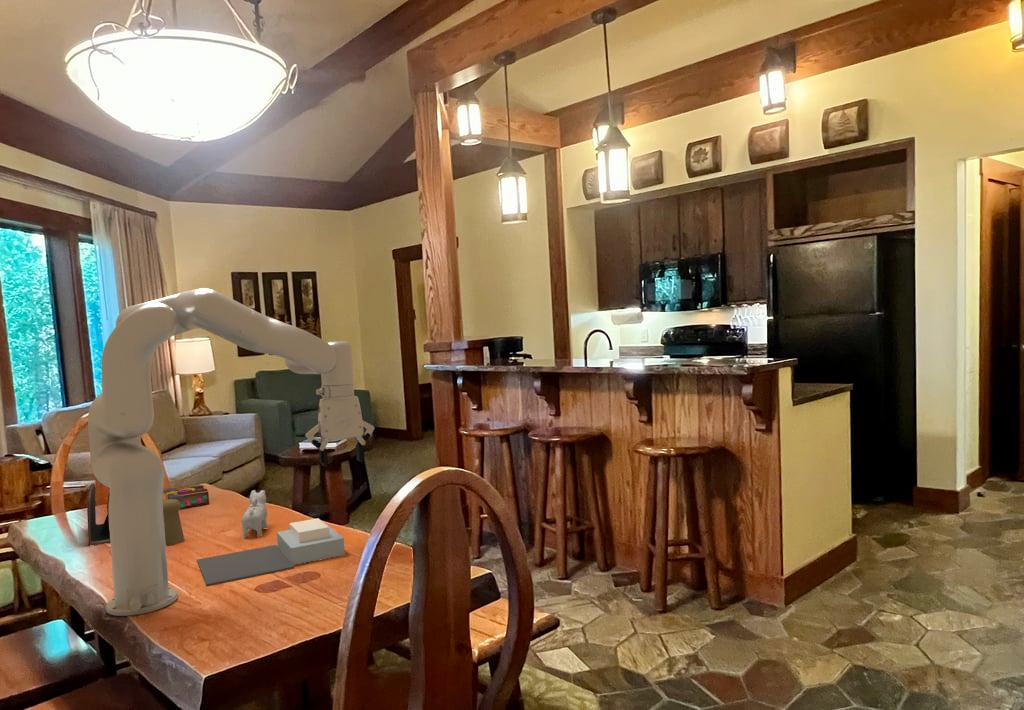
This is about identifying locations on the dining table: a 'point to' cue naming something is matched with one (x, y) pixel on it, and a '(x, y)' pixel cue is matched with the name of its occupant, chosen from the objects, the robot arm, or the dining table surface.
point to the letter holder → (95, 532)
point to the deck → (310, 547)
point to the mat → (243, 564)
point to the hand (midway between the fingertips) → (342, 463)
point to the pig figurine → (255, 514)
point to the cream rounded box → (309, 530)
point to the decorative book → (188, 495)
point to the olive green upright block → (172, 522)
